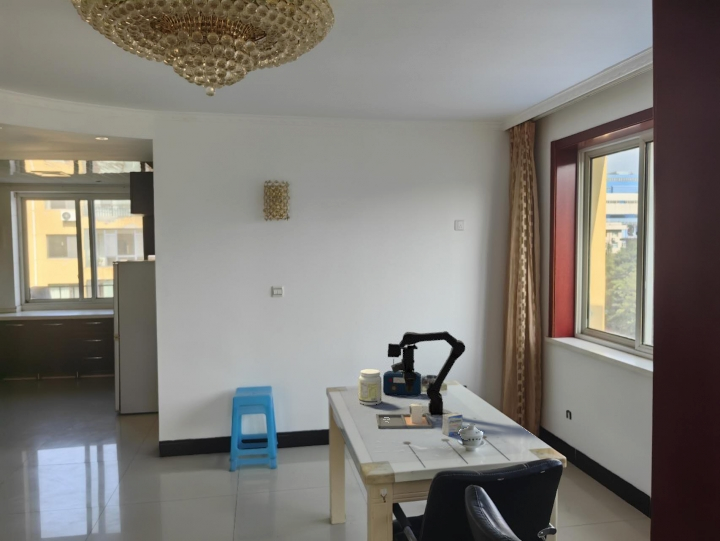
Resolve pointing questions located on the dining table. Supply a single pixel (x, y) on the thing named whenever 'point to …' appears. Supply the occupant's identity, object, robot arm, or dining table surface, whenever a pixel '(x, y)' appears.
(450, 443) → the dining table surface
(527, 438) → the dining table surface
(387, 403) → the dining table surface
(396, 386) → the radio
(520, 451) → the dining table surface
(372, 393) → the supplement tub
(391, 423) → the dock
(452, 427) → the medicine box
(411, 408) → the plug
